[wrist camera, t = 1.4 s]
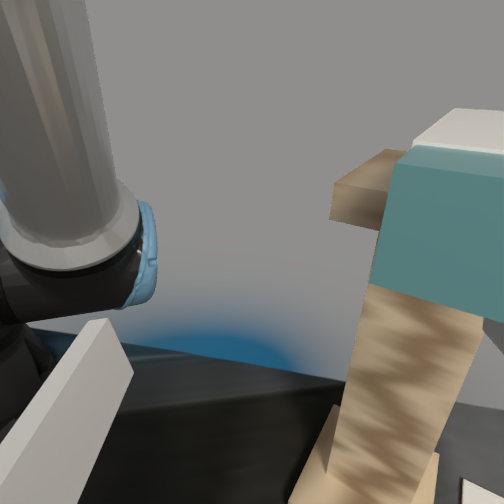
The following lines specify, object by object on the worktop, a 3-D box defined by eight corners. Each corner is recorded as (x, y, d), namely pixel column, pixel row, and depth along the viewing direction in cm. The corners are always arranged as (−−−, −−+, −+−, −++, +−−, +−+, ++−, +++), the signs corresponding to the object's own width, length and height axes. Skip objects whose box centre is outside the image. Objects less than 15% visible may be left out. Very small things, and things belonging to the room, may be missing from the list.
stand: (286, 510, 31) (334, 182, 17) (332, 412, 40) (386, 149, 27) (417, 597, 26) (625, 234, 13) (435, 463, 35) (565, 170, 22)
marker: (364, 285, 9) (391, 157, 7) (441, 155, 25) (454, 108, 24) (514, 331, 7) (585, 183, 6) (493, 162, 24) (510, 111, 22)
